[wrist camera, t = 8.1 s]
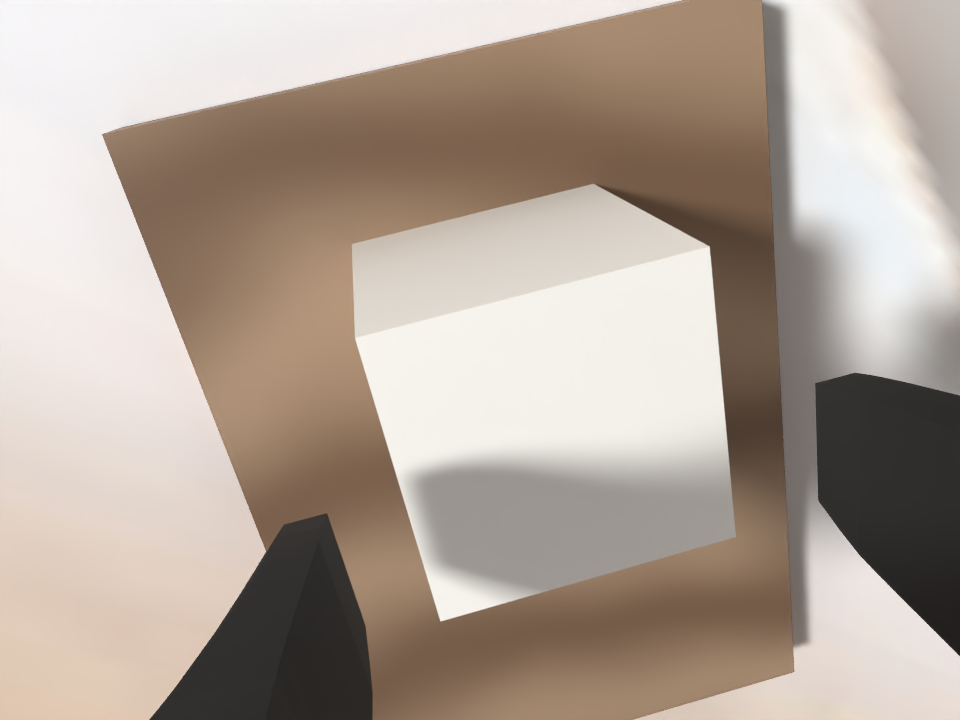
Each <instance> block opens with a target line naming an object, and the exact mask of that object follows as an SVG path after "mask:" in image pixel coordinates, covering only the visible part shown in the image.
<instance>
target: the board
mask: <svg viewBox="0 0 960 720" xmlns="http://www.w3.org/2000/svg"><path fill="white" fill-rule="evenodd" d="M102 135H103V138H104V141H105V143H106V146H107V148H108V151H109V153H110V156H111V158H112V161H113V163H114V166H115V168H116V171H117V174H118V176H119V179H120V181H121V184H122V186H123V189H124V191H125V194H126V196H127V199H128V201H129V204H130V207H131V209H132V212H133V214H134V217H135V219H136V222H137V224H138V227H139V229H140V232H141V234H142V237H143V240H144V242H145V245H146V247H147V250H148V252H149V255H150V257H151V260H152V262H153V265H154V268H155V270H156V273H157V275H158V278H159V280H160V283H161V285H162V288H163V290H164V293H165V295H166V298H167V301H168V303H169V306H170V308H171V311H172V313H173V316H174V318H175V321H176V323H177V326H178V328H179V331H180V334H181V336H182V339H183V341H184V344H185V346H186V349H187V351H188V354H189V356H190V359H191V361H192V364H193V367H194V369H195V372H196V374H197V377H198V379H199V382H200V384H201V387H202V389H203V392H204V394H205V397H206V400H207V402H208V405H209V407H210V410H211V412H212V415H213V417H214V420H215V422H216V425H217V427H218V430H219V433H220V435H221V438H222V440H223V443H224V445H225V448H226V450H227V453H228V455H229V458H230V460H231V463H232V466H233V468H234V471H235V473H236V476H237V478H238V481H239V483H240V486H241V488H242V491H243V494H244V496H245V499H246V501H247V504H248V506H249V509H250V511H251V514H252V516H253V519H254V521H255V524H256V527H257V529H258V532H259V534H260V537H261V539H262V542H263V544H264V547H265V549H266V552H267V550H268V548H269V547H270V545H271V544H272V542H273V541H274V539H275V537H276V536H277V534H278V533H279V531H280V530H281V528H282V527H283V525H284V524H288V523H292V522H295V521H299V520H303V519H307V518H311V517H314V516H318V515H322V514H326V513H327V514H328V517H329V520H330V523H331V526H332V529H333V532H334V535H335V538H336V541H337V544H338V547H339V550H340V552H341V555H342V558H343V561H344V564H345V567H346V570H347V573H348V576H349V579H350V582H351V585H352V588H353V590H354V593H355V596H356V599H357V602H358V605H359V608H360V611H361V614H362V617H363V620H364V623H365V626H366V634H367V643H368V652H369V660H370V670H371V681H372V691H373V718H372V720H633V719H636V718H640V717H643V716H647V715H650V714H653V713H657V712H660V711H664V710H667V709H670V708H674V707H677V706H681V705H684V704H687V703H691V702H694V701H697V700H701V699H704V698H708V697H711V696H714V695H718V694H721V693H725V692H728V691H731V690H735V689H738V688H742V687H745V686H748V685H752V684H755V683H759V682H762V681H765V680H769V679H772V678H775V677H779V676H782V675H786V674H789V673H792V672H794V656H793V635H792V614H791V594H790V573H789V552H788V531H787V510H786V490H785V469H784V448H783V427H782V407H781V386H780V365H779V344H778V324H777V303H776V282H775V261H774V241H773V220H772V199H771V178H770V158H769V137H768V116H767V95H766V75H765V54H764V33H763V12H762V0H682V1H678V2H673V3H669V4H665V5H660V6H656V7H651V8H647V9H643V10H638V11H634V12H629V13H625V14H621V15H616V16H612V17H607V18H603V19H598V20H594V21H590V22H585V23H581V24H576V25H572V26H568V27H563V28H559V29H554V30H550V31H545V32H541V33H537V34H532V35H528V36H523V37H519V38H515V39H510V40H506V41H501V42H497V43H493V44H488V45H484V46H479V47H475V48H470V49H466V50H462V51H457V52H453V53H448V54H444V55H440V56H435V57H431V58H426V59H422V60H417V61H413V62H409V63H404V64H400V65H395V66H391V67H387V68H382V69H378V70H373V71H369V72H365V73H360V74H356V75H351V76H347V77H342V78H338V79H334V80H329V81H325V82H320V83H316V84H312V85H307V86H303V87H298V88H294V89H289V90H285V91H281V92H276V93H272V94H267V95H263V96H259V97H254V98H250V99H245V100H241V101H237V102H232V103H228V104H223V105H219V106H214V107H210V108H206V109H201V110H197V111H192V112H188V113H184V114H179V115H175V116H170V117H166V118H161V119H157V120H153V121H148V122H144V123H139V124H135V125H131V126H126V127H122V128H119V129H116V130H113V131H110V132H108V133H105V134H102ZM591 184H595V185H597V186H599V187H600V188H602V189H604V190H606V191H608V192H610V193H612V194H613V195H615V196H617V197H619V198H621V199H623V200H625V201H626V202H628V203H630V204H632V205H634V206H636V207H637V208H639V209H641V210H643V211H645V212H647V213H649V214H650V215H652V216H654V217H656V218H658V219H660V220H662V221H663V222H665V223H667V224H669V225H671V226H673V227H674V228H676V229H678V230H680V231H682V232H684V233H686V234H687V235H689V236H691V237H693V238H695V239H697V240H698V241H700V242H702V243H704V244H706V245H708V246H710V256H711V267H712V278H713V289H714V300H715V311H716V322H717V334H718V345H719V356H720V367H721V378H722V389H723V400H724V411H725V422H726V433H727V444H728V455H729V466H730V477H731V488H732V499H733V510H734V521H735V533H736V537H734V538H731V539H727V540H724V541H720V542H717V543H713V544H710V545H706V546H703V547H699V548H696V549H692V550H689V551H685V552H682V553H678V554H675V555H671V556H668V557H664V558H661V559H658V560H654V561H651V562H647V563H644V564H640V565H637V566H633V567H630V568H626V569H623V570H619V571H616V572H612V573H609V574H605V575H602V576H598V577H595V578H591V579H588V580H584V581H581V582H577V583H574V584H570V585H567V586H563V587H560V588H556V589H553V590H549V591H546V592H542V593H539V594H535V595H532V596H528V597H525V598H521V599H518V600H514V601H511V602H507V603H504V604H500V605H497V606H493V607H490V608H486V609H483V610H479V611H476V612H472V613H469V614H465V615H462V616H458V617H455V618H451V619H448V620H444V621H441V622H440V618H439V615H438V612H437V608H436V605H435V602H434V599H433V595H432V592H431V589H430V585H429V582H428V579H427V575H426V572H425V569H424V565H423V562H422V559H421V555H420V552H419V549H418V545H417V542H416V539H415V536H414V532H413V529H412V526H411V522H410V519H409V516H408V512H407V509H406V506H405V502H404V499H403V496H402V492H401V489H400V486H399V483H398V479H397V476H396V473H395V469H394V466H393V463H392V459H391V456H390V453H389V449H388V446H387V443H386V439H385V436H384V433H383V429H382V426H381V423H380V420H379V416H378V413H377V410H376V406H375V403H374V400H373V396H372V393H371V390H370V386H369V383H368V380H367V376H366V373H365V370H364V366H363V363H362V360H361V357H360V353H359V350H358V347H357V343H356V340H355V325H354V295H353V266H352V244H354V243H358V242H362V241H366V240H370V239H374V238H378V237H382V236H386V235H390V234H394V233H398V232H402V231H406V230H410V229H414V228H418V227H422V226H426V225H430V224H434V223H438V222H442V221H446V220H450V219H454V218H458V217H462V216H466V215H470V214H474V213H478V212H482V211H486V210H490V209H494V208H498V207H502V206H506V205H510V204H515V203H519V202H523V201H527V200H531V199H535V198H539V197H543V196H547V195H551V194H555V193H559V192H563V191H567V190H571V189H575V188H579V187H583V186H587V185H591Z"/></svg>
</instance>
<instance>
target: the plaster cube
mask: <svg viewBox="0 0 960 720" xmlns="http://www.w3.org/2000/svg"><path fill="white" fill-rule="evenodd" d="M352 266H353V295H354V325H355V340H356V343H357V347H358V350H359V353H360V357H361V360H362V363H363V366H364V370H365V373H366V376H367V380H368V383H369V386H370V390H371V393H372V396H373V400H374V403H375V406H376V410H377V413H378V416H379V420H380V423H381V426H382V429H383V433H384V436H385V439H386V443H387V446H388V449H389V453H390V456H391V459H392V463H393V466H394V469H395V473H396V476H397V479H398V483H399V486H400V489H401V492H402V496H403V499H404V502H405V506H406V509H407V512H408V516H409V519H410V522H411V526H412V529H413V532H414V536H415V539H416V542H417V545H418V549H419V552H420V555H421V559H422V562H423V565H424V569H425V572H426V575H427V579H428V582H429V585H430V589H431V592H432V595H433V599H434V602H435V605H436V608H437V612H438V615H439V618H440V622H441V621H444V620H448V619H451V618H455V617H458V616H462V615H465V614H469V613H472V612H476V611H479V610H483V609H486V608H490V607H493V606H497V605H500V604H504V603H507V602H511V601H514V600H518V599H521V598H525V597H528V596H532V595H535V594H539V593H542V592H546V591H549V590H553V589H556V588H560V587H563V586H567V585H570V584H574V583H577V582H581V581H584V580H588V579H591V578H595V577H598V576H602V575H605V574H609V573H612V572H616V571H619V570H623V569H626V568H630V567H633V566H637V565H640V564H644V563H647V562H651V561H654V560H658V559H661V558H664V557H668V556H671V555H675V554H678V553H682V552H685V551H689V550H692V549H696V548H699V547H703V546H706V545H710V544H713V543H717V542H720V541H724V540H727V539H731V538H734V537H736V533H735V521H734V510H733V499H732V488H731V477H730V466H729V455H728V444H727V433H726V422H725V411H724V400H723V389H722V378H721V367H720V356H719V345H718V334H717V322H716V311H715V300H714V289H713V278H712V267H711V256H710V246H708V245H706V244H704V243H702V242H700V241H698V240H697V239H695V238H693V237H691V236H689V235H687V234H686V233H684V232H682V231H680V230H678V229H676V228H674V227H673V226H671V225H669V224H667V223H665V222H663V221H662V220H660V219H658V218H656V217H654V216H652V215H650V214H649V213H647V212H645V211H643V210H641V209H639V208H637V207H636V206H634V205H632V204H630V203H628V202H626V201H625V200H623V199H621V198H619V197H617V196H615V195H613V194H612V193H610V192H608V191H606V190H604V189H602V188H600V187H599V186H597V185H595V184H591V185H587V186H583V187H579V188H575V189H571V190H567V191H563V192H559V193H555V194H551V195H547V196H543V197H539V198H535V199H531V200H527V201H523V202H519V203H515V204H510V205H506V206H502V207H498V208H494V209H490V210H486V211H482V212H478V213H474V214H470V215H466V216H462V217H458V218H454V219H450V220H446V221H442V222H438V223H434V224H430V225H426V226H422V227H418V228H414V229H410V230H406V231H402V232H398V233H394V234H390V235H386V236H382V237H378V238H374V239H370V240H366V241H362V242H358V243H354V244H352Z"/></svg>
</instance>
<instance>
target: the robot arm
mask: <svg viewBox="0 0 960 720" xmlns="http://www.w3.org/2000/svg"><path fill="white" fill-rule="evenodd" d="M815 387H816V426H817V465H818V500H819V502H820V503H821V505H822V506H823V507H824V509H825V510H826V511H827V513H828V514H829V516H830V517H831V518H832V520H833V521H834V523H835V524H836V525H837V527H838V528H839V529H840V531H841V532H842V533H843V535H844V536H845V537H846V538H847V540H848V541H849V542H850V543H851V545H852V546H853V547H854V549H855V550H856V551H857V552H858V554H859V555H860V556H861V557H862V558H863V559H864V560H865V561H866V562H867V563H868V564H869V565H870V566H871V567H872V569H873V570H874V571H875V572H876V573H877V574H878V575H879V576H880V577H881V578H882V579H883V580H884V581H885V582H886V583H887V584H888V585H889V586H890V587H891V588H892V589H893V590H894V591H895V592H896V593H897V594H898V595H899V596H900V597H901V598H902V599H903V600H904V601H905V602H906V603H907V604H908V605H909V606H910V607H911V608H912V609H913V610H914V611H915V612H916V613H917V614H918V615H919V616H920V617H921V618H922V619H923V620H924V621H925V622H926V623H927V624H928V625H929V626H930V627H931V628H932V629H933V630H934V631H935V632H936V633H937V634H938V635H939V636H940V637H941V638H942V639H943V640H944V641H945V642H946V643H947V644H948V645H949V646H950V647H951V648H952V649H953V650H954V651H955V652H956V653H957V654H958V655H959V656H960V396H959V395H955V394H951V393H947V392H943V391H939V390H935V389H931V388H927V387H922V386H918V385H914V384H910V383H906V382H901V381H897V380H892V379H888V378H883V377H877V376H872V375H866V374H859V373H853V374H849V375H845V376H842V377H838V378H834V379H830V380H827V381H823V382H819V383H815ZM372 718H373V691H372V681H371V670H370V660H369V652H368V643H367V634H366V626H365V623H364V620H363V617H362V614H361V611H360V608H359V605H358V602H357V599H356V596H355V593H354V590H353V588H352V585H351V582H350V579H349V576H348V573H347V570H346V567H345V564H344V561H343V558H342V555H341V552H340V550H339V547H338V544H337V541H336V538H335V535H334V532H333V529H332V526H331V523H330V520H329V517H328V514H327V513H326V514H322V515H318V516H314V517H311V518H307V519H303V520H299V521H295V522H292V523H288V524H284V525H283V527H282V528H281V530H280V531H279V533H278V534H277V536H276V537H275V539H274V541H273V542H272V544H271V545H270V547H269V548H268V550H267V552H266V553H265V555H264V556H263V558H262V560H261V561H260V563H259V565H258V566H257V568H256V570H255V571H254V573H253V574H252V576H251V578H250V579H249V581H248V582H247V584H246V586H245V587H244V589H243V590H242V592H241V594H240V595H239V597H238V598H237V600H236V601H235V603H234V604H233V606H232V608H231V609H230V611H229V612H228V614H227V615H226V617H225V618H224V620H223V621H222V623H221V624H220V626H219V627H218V629H217V630H216V632H215V633H214V635H213V636H212V638H211V639H210V640H209V642H208V643H207V645H206V646H205V647H204V649H203V650H202V651H201V653H200V654H199V656H198V657H197V658H196V660H195V661H194V662H193V664H192V665H191V667H190V668H189V669H188V671H187V672H186V674H185V675H184V676H183V678H182V679H181V680H180V682H179V683H178V685H177V686H176V687H175V689H174V690H173V691H172V692H171V694H170V695H169V696H168V698H167V699H166V700H165V701H164V703H163V704H162V705H161V706H160V708H159V709H158V710H157V711H156V712H155V714H154V715H153V716H152V717H151V719H150V720H372Z"/></svg>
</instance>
